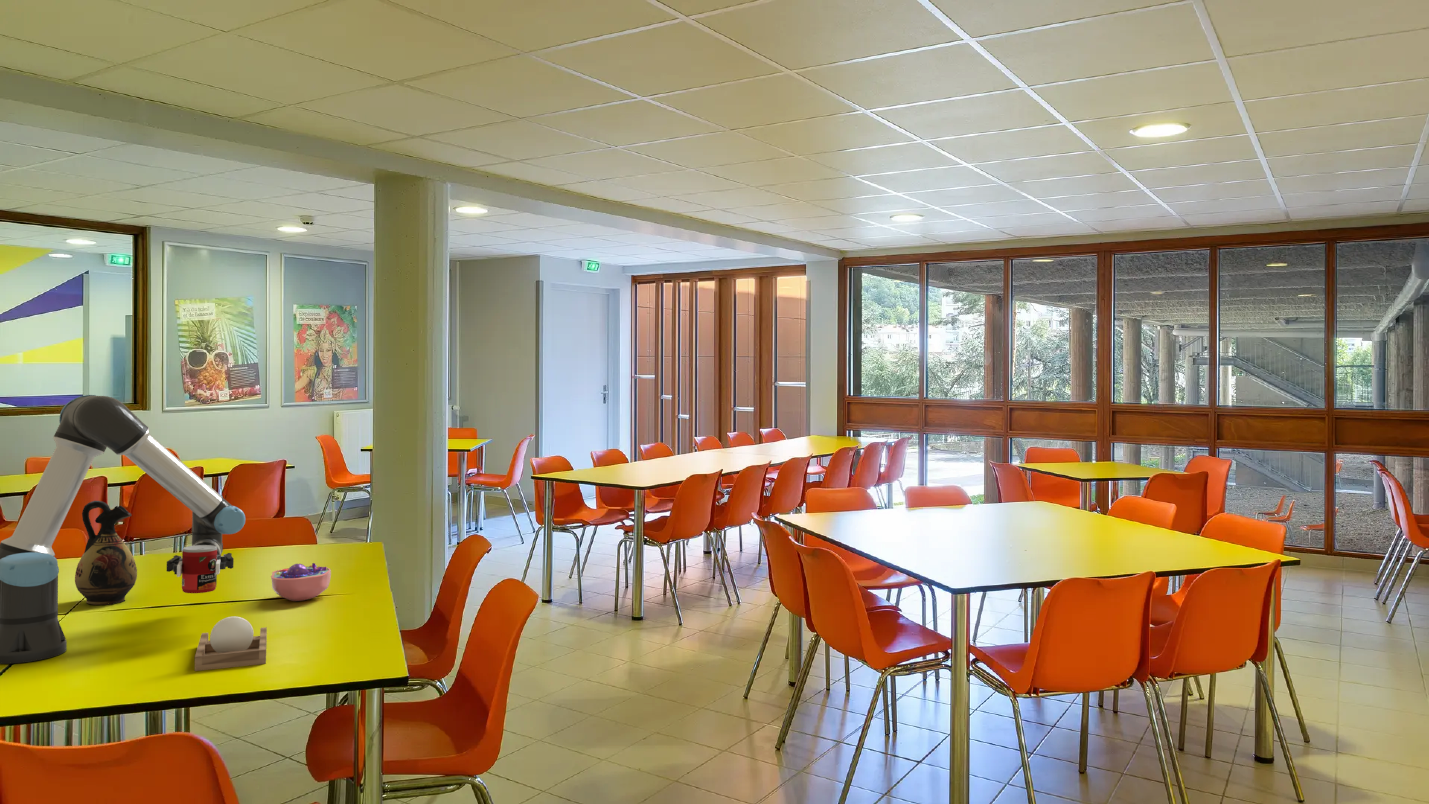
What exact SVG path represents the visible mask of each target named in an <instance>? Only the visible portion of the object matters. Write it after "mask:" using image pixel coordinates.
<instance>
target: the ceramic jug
mask: <svg viewBox="0 0 1429 804" xmlns="http://www.w3.org/2000/svg"><path fill="white" fill-rule="evenodd" d="M97 508H99V509H101V510H102V512H101V513H100V514H99V515H98V516H97V517H96V518H95V520H94V521H95V524H100V526H101V527H100V529H99V530H98V533H97V534H96V533H95V529H94V527H93V526H92V522H91V519H90V512H91V510H94V509H97ZM132 515H133V514H132V513H131V512H129V511H128V510H127V508H125V507H124V506H122V505H116V506H115V507H114V508H112V509H111V508H110V505H109V504H108V503H106V502H104V501H102V500H92V501H90V502H88V503H87V504H85V505H84V506H83V509H82V512H81V516H82V518H81V519H82V522H83V524H84V527H85V530H86V533H87V536H88V539H87V543H86V545H85V549H84V552H83V554H82V556H81V558H80V559H79V562H78V563H77V565H76V568H75V569H76V570H75V574H74V583H75V587H76V590H77V591H78V593H80V594H81V595H82V596H83V597H84V598H85V599H86V602H85V603H86V604H89V605H96V606H100V605H107V606H109V605H114V604H118V603H123V602H125V601H126V600H125V599H126V597H127V596H126V595H127V594H129V593H130V591H131V590H132V589H133V588H134V586H135V585H136V581H137V579H138V568H137V565H136V561H135V557H134V556H133V554H132V552H131V551H130V549H129V547H128V546H127V544H125V542H124V541H123V539H122V538H121V537H120V536H119V535H118V533H117V532H116V529H115V528H116V527H115V525H116V524H117V523H118V522H121V521H122V520H125V519H127V518H129V517H132Z"/></svg>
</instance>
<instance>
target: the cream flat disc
mask: <svg viewBox="0 0 1429 804" xmlns="http://www.w3.org/2000/svg"><path fill="white" fill-rule="evenodd" d="M254 634H255V633H254V628H253V626H252V624H251V623H250V622H249V620H247V619H246V618H243V617H242V616H241V617H240V616H235V615H234V616H228V617H225V618H223V619H220V620H219V621H218V622H216V624H215V625H214V626H213V628H212V629H211V632H210V635H209V637H210V638H209V641H210V643H211V646H212V648H213V649H214V650H215V651H216V652H217V653H223V652H233V651H243V650H246V649H247V648H248V647H249V646H250V645H251V643H252V640H253V636H254Z"/></svg>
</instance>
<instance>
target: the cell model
mask: <svg viewBox="0 0 1429 804" xmlns="http://www.w3.org/2000/svg"><path fill="white" fill-rule="evenodd" d="M331 576H332V570H331V568H329V567H327V566H320V565H318V566H317V565H316V563H314V562H313V563H312V564H311V565H309V566H306V565H304V564H303V563H294V564H292V565H291V566H289V568H282V569H279V570H278V569H277V570H274V571H272V572H271V576H270V578H271V588H272V590H273V591H274V592H275V594H276V595H278V596H279V597H281V598H284V599H286V600H289V601H291V602H301V601H307V600H310V599H313V598H316V597H318V596H320V595H321V594H322V593H323V592H325V590H328V588H329V586H330V582H331Z"/></svg>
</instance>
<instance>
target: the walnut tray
mask: <svg viewBox="0 0 1429 804" xmlns="http://www.w3.org/2000/svg"><path fill="white" fill-rule="evenodd" d="M259 629H260V631H259V635H256V636H255V635H253V640H252V643H251V645H250V646H249V647H248V648H247V649H246V650H243V651H233V652H223V653H217V652H216V651H215V650H214V649H213V648H212V646H211V643H210V640H209V632H202V633H201V634H200V638H199V641H198V645H197V648H196V652H195V655H194V671H195V672H198V671H206V670H207V671H209V670H217V669H227V668H235V667H236V668H237V667H245V666H254V665H264V664H266V663H267V645H268V644H267V642H268V641H267V640H268V639H267V637H268V636H267V635H268V633H267V631H268V629H267V626H266V627H260V628H259Z"/></svg>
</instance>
